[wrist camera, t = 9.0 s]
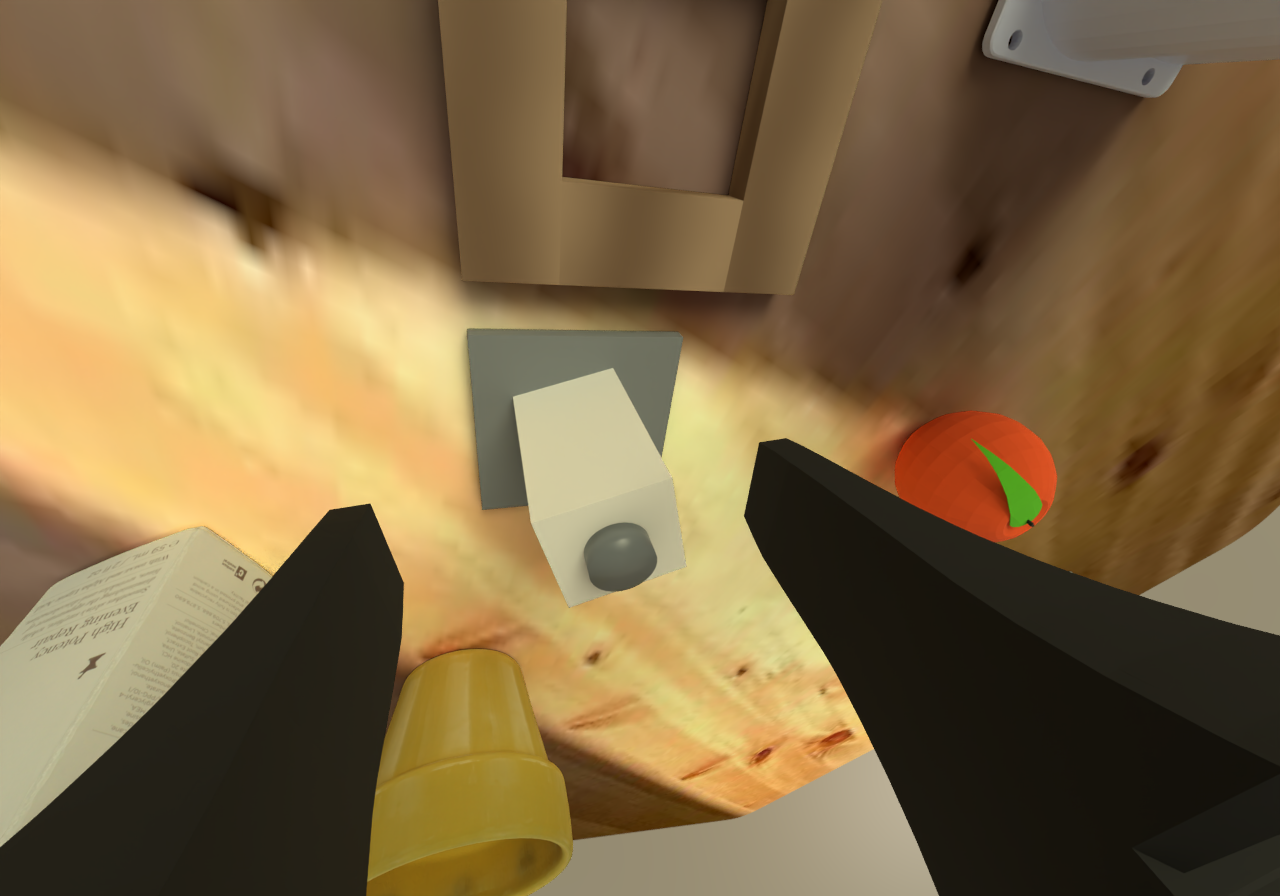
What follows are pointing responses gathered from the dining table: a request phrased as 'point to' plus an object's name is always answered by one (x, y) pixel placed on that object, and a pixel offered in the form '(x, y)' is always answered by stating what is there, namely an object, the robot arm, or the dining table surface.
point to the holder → (631, 214)
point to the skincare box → (108, 657)
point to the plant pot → (466, 786)
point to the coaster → (552, 358)
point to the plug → (596, 488)
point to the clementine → (978, 473)
